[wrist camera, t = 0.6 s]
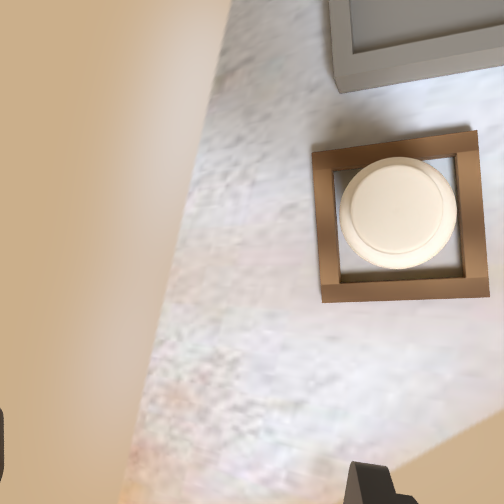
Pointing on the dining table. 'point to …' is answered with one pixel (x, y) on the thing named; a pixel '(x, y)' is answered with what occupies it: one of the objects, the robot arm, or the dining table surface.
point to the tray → (412, 40)
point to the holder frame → (469, 219)
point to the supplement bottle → (398, 212)
